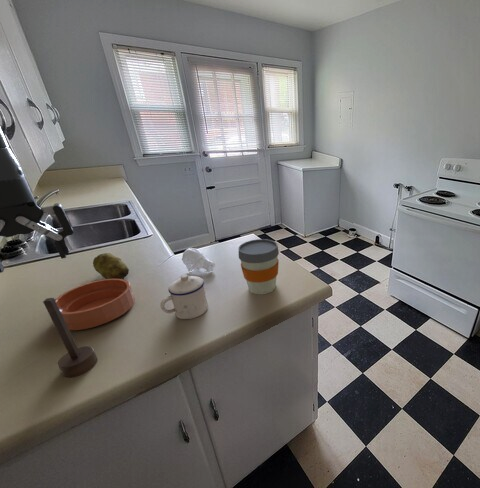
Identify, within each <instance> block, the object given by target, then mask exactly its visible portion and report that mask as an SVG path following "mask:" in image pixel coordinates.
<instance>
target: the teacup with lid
mask: <svg viewBox="0 0 480 488" xmlns="http://www.w3.org/2000/svg"><path fill="white" fill-rule="evenodd" d="M168 293H169V296H167V297H165V298H163V299H162V300H161V301H160V309H161V310H162V312H164V313H166V314H174V313H175V315H176V317H177V318H179V319H181V320H191V319H196V318H197V317H201V316H202V315H203V314H204V313H205V312H207V310H208V309H209V303H208V299H207V294H206V288H205V280H204V279H203V278H202V277H200V276H196V275H188V274H182V275H181V276H180V278H178V279H176V280H174V281H173V282H171V283H170V285H169V286H168ZM170 300H171V301H172V305H173V308H170V309H166V308H165V305H166V303H167V302H168V301H170Z"/></svg>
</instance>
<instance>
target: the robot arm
mask: <svg viewBox="0 0 480 488" xmlns="http://www.w3.org/2000/svg"><path fill="white" fill-rule="evenodd" d="M1 127H2V126H0V237H5V238H11V237H15V236H18V235H29V234H31V233H33V232H37V233H39V234H42V235H43V236H47V237H49V238H50V239H53V244H54V246H55V247H56V250H57V252H58V255H59V257H60V259H62V260H63V259H66V258H67V255H69V253H70V249H69V247H68V245H67V242H66V239H65V238H67V237H69V236H72V235H74V227H73V225H72V224H71V223H72V222H71V221H70V220H69V217H68V215H67V213H66V212H65V210H64V207H63V205H62V204H61V203H59V202H55V203H54V204H53V205H48V206H41V205H39V204H38V203H37V201H36V199H35V197H34V195H33V192H32V190H31V187H30V185H29V183H28V180H27V178H26V176H25V174H24V171H23V170H22V167H21V165H20V163H19V161H18V158H17V157H16V156H15V154H14V153H13V151H12V148H10V145H9V142H8V140H7V138H6V136H5V134H4V131H3V129H2V128H1ZM45 214H48V215H49V216H50V217H52V218H57V221H58V222H59V225H60V226H61V228H62V229H60V230H58V229H56V228H54V227H52V226H51V225H50V224H48V223H46V222H44V221H42V218H43V217H44V215H45ZM4 270H5V267H4V265H3V263H2V261H1V260H0V273H4Z"/></svg>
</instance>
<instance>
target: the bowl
mask: <svg viewBox="0 0 480 488" xmlns="http://www.w3.org/2000/svg"><path fill="white" fill-rule="evenodd" d="M54 299H55V301H56V304H57V306H58V308H59V310H60V312H61V314H62V316H63V318H64V320H65V322H66V325H67V327H68V329H69V331H80V330H87V329H91V328H95V327H98V326H102V325H105V324H107V323H110V322H111V321H113V320H116V319H117V318H119V317H121V316H123V315H124V314H125V313H127V312H128V311H129V310H130V309H132V307H133V306H134V304H135V301H136V298H135V295H134V293H133V289H132V286H131V283H130V282H129V281H128V280H126V279H124V278H122V279H107V278H104V279H99V280H94V281H91V282H86V283H84V284H81V285H79V286H76V287H73V288H71V289H68V290H67V291H65V292H63V293H62V294H60V295H58V296H57V297H56V298H54Z"/></svg>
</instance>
